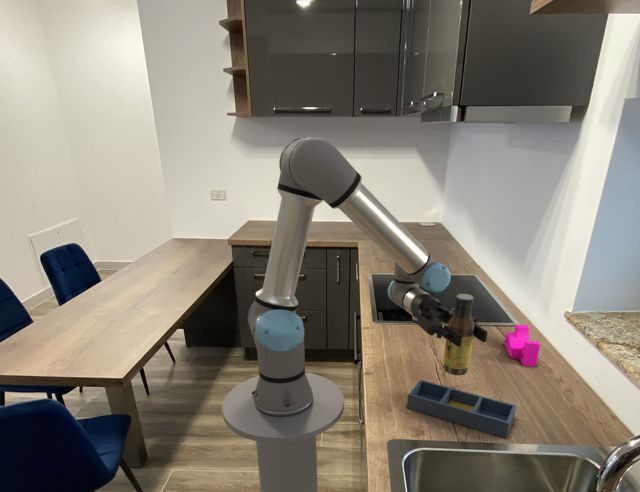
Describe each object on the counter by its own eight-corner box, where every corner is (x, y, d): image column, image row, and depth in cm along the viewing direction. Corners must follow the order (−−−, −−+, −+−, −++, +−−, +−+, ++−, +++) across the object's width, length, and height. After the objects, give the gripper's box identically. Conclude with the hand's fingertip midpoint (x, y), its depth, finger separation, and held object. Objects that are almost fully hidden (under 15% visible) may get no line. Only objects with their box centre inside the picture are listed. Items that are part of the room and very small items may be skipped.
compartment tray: (407, 407, 116) (408, 394, 114) (419, 392, 123) (420, 379, 121) (506, 438, 104) (509, 423, 102) (513, 419, 111) (516, 405, 109)
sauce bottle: (443, 363, 115) (451, 290, 107) (468, 366, 113) (478, 292, 105) (442, 375, 109) (450, 298, 101) (468, 378, 108) (479, 301, 100)
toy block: (504, 344, 151) (507, 324, 148) (523, 345, 150) (527, 325, 147) (514, 365, 137) (518, 343, 134) (535, 366, 136) (540, 344, 133)
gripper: (451, 314, 127) (504, 347, 107) (390, 323, 121) (435, 360, 101) (453, 289, 124) (509, 318, 104) (391, 297, 118) (438, 329, 98)
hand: (472, 338), depth 102 cm, fingers closed on sauce bottle, 6 cm apart
